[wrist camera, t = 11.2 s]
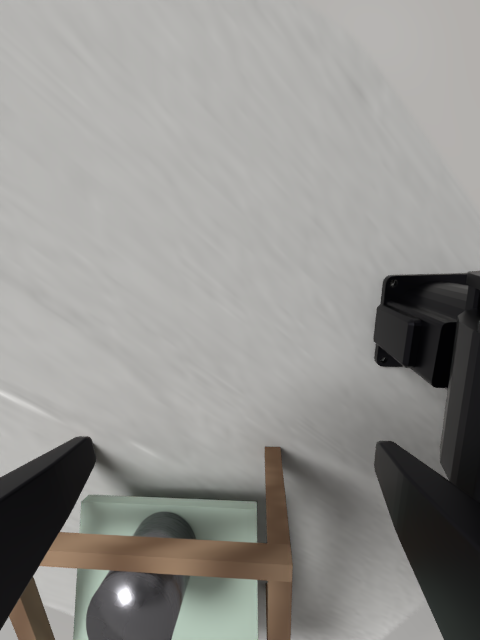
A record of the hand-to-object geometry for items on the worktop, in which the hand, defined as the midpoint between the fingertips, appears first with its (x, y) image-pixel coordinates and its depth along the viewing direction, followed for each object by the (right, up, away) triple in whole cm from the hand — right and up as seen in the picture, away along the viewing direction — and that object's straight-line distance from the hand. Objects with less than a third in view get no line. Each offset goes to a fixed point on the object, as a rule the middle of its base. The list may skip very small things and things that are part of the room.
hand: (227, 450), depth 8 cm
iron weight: (-5, -13, +12) cm, 19 cm away
